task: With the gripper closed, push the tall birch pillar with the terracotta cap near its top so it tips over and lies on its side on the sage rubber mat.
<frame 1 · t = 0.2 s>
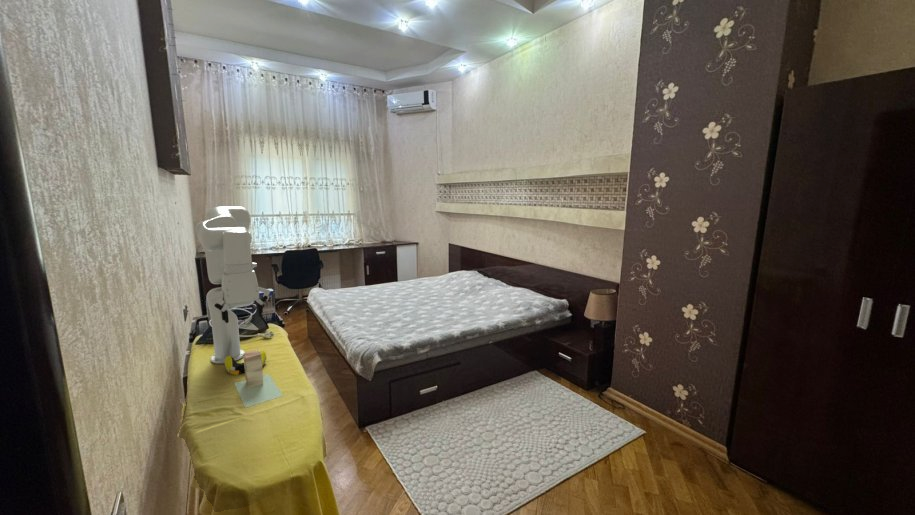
hand: (243, 318, 122), 31 cm above the table, tool pointing down, fingers open, 9 cm apart
birch pillar: (254, 383, 140), resting on sage mat
gaming controller: (246, 369, 151), on the table
sage mat: (258, 390, 136), on the table
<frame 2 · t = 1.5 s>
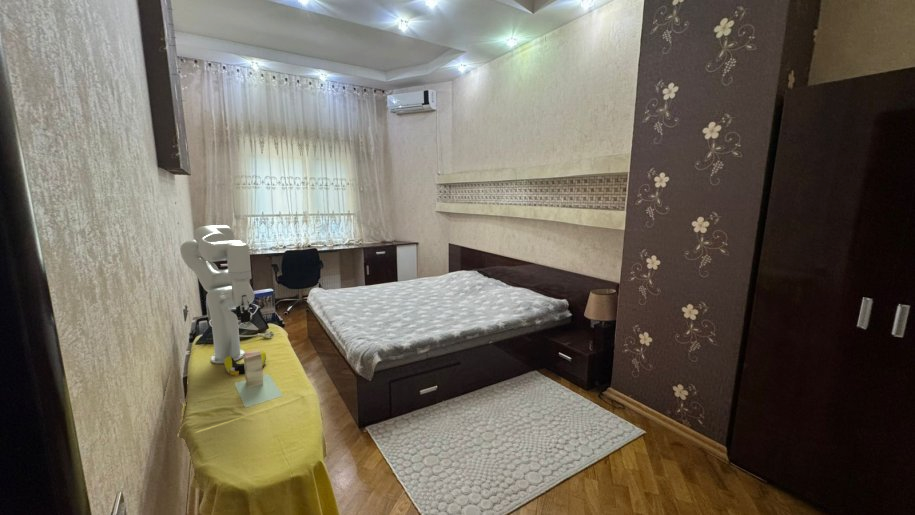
hand: (243, 318, 144), 23 cm above the table, tool pointing down, fingers open, 7 cm apart
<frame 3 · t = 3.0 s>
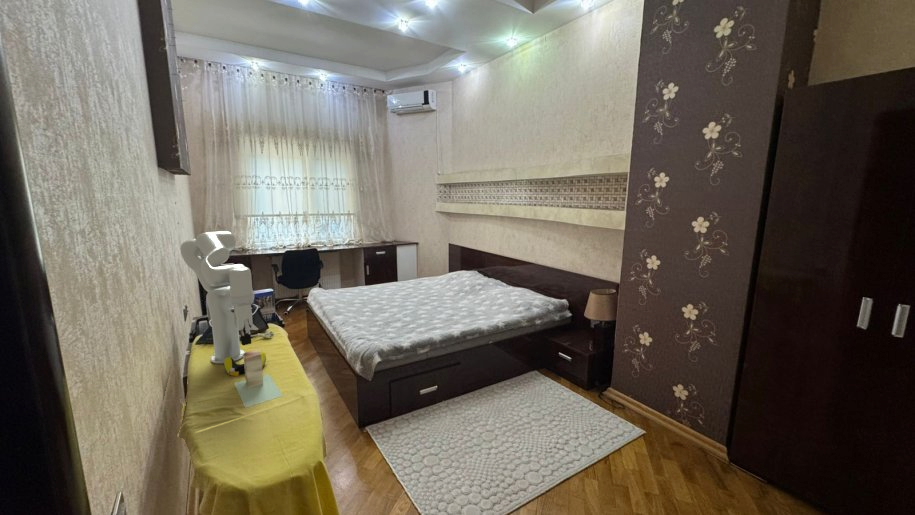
hand: (246, 343, 146), 13 cm above the table, tool pointing down, fingers closed
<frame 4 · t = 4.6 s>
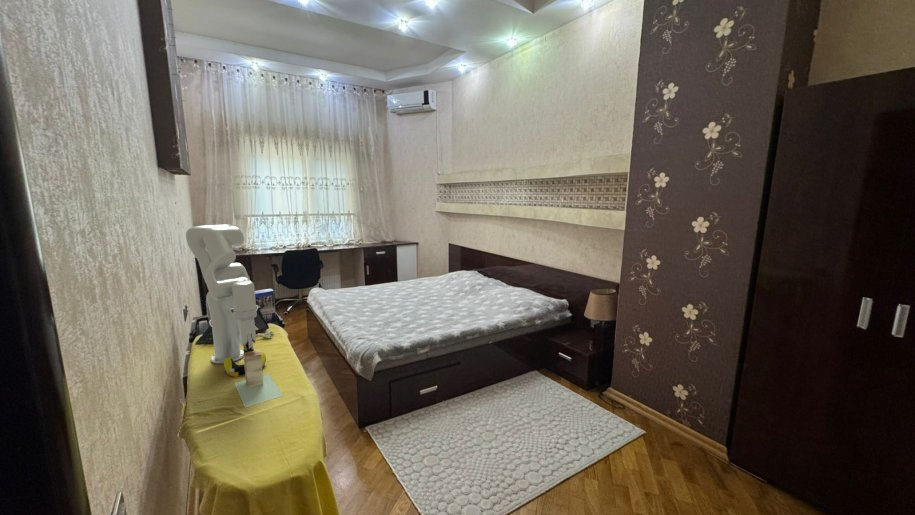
hand: (249, 358, 144), 8 cm above the table, tool pointing down, fingers closed
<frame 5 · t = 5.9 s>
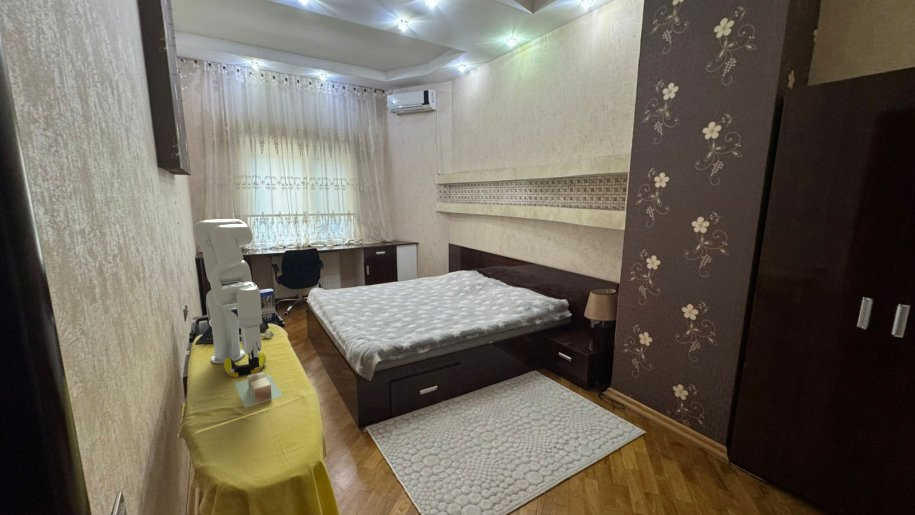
hand: (254, 367, 137), 8 cm above the table, tool pointing down, fingers closed
birch pillar: (255, 379, 137), point 3 cm above the table, tilted 90°, touching sage mat
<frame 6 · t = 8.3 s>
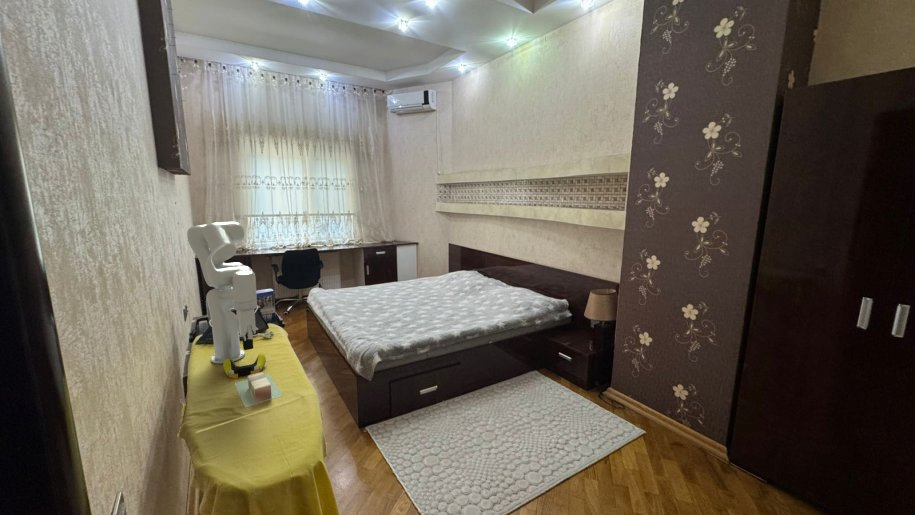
hand: (248, 348, 142), 12 cm above the table, tool pointing down, fingers closed
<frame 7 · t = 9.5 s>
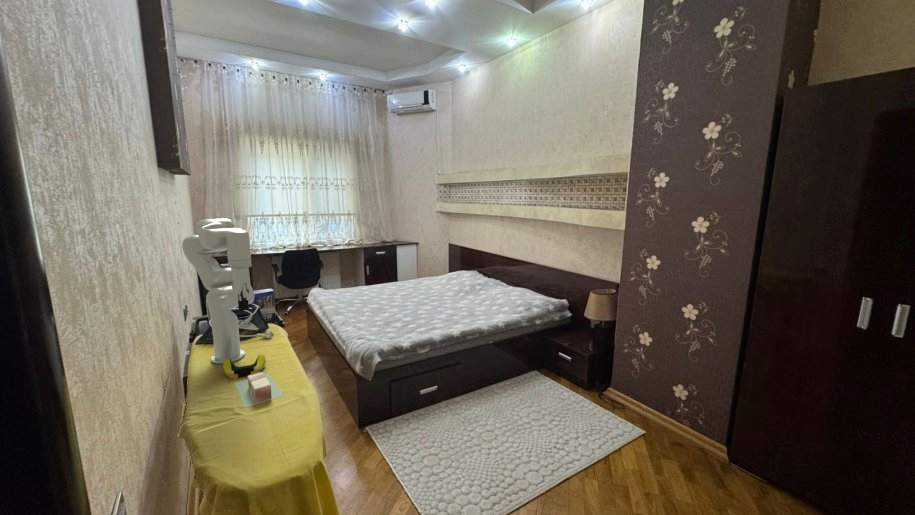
hand: (243, 309, 142), 27 cm above the table, tool pointing down, fingers closed
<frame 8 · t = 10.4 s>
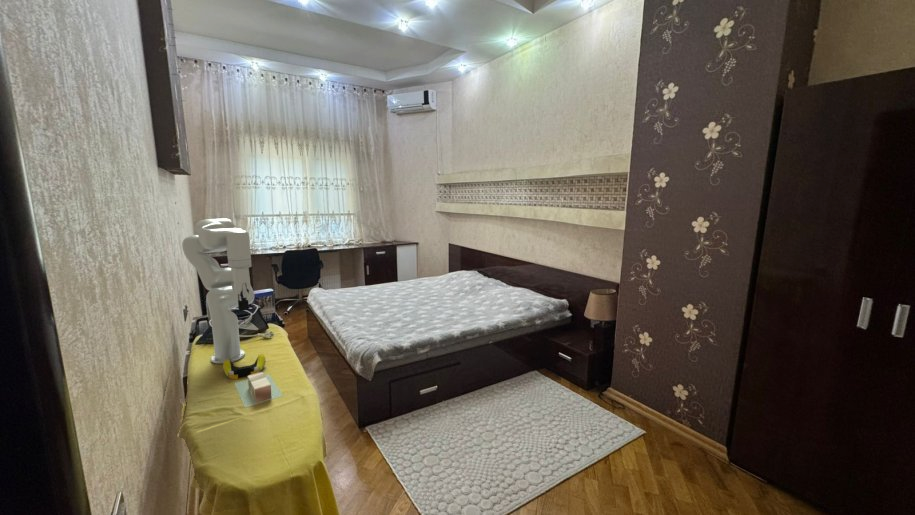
hand: (243, 309, 142), 27 cm above the table, tool pointing down, fingers closed
at the end: birch pillar tilted 90°; birch pillar inside the target area (3.0 cm from its centre), point 3.0 cm above the table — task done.
